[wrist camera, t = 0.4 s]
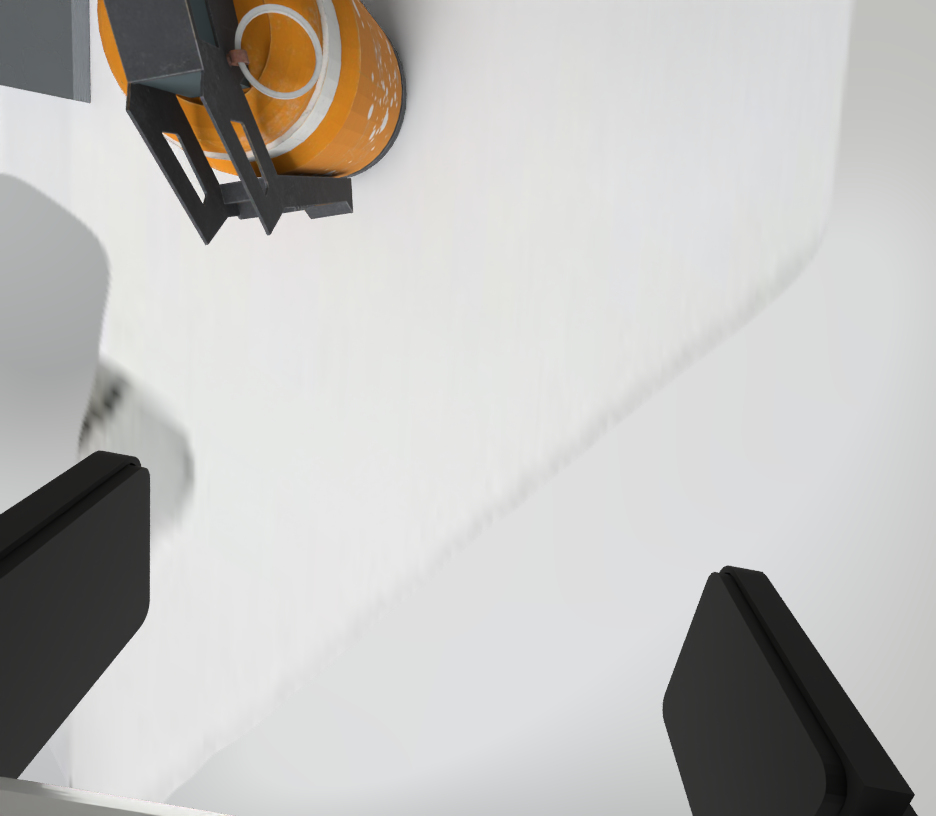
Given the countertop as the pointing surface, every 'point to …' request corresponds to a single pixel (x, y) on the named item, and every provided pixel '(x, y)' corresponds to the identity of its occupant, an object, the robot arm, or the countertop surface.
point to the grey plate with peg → (46, 47)
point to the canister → (257, 99)
